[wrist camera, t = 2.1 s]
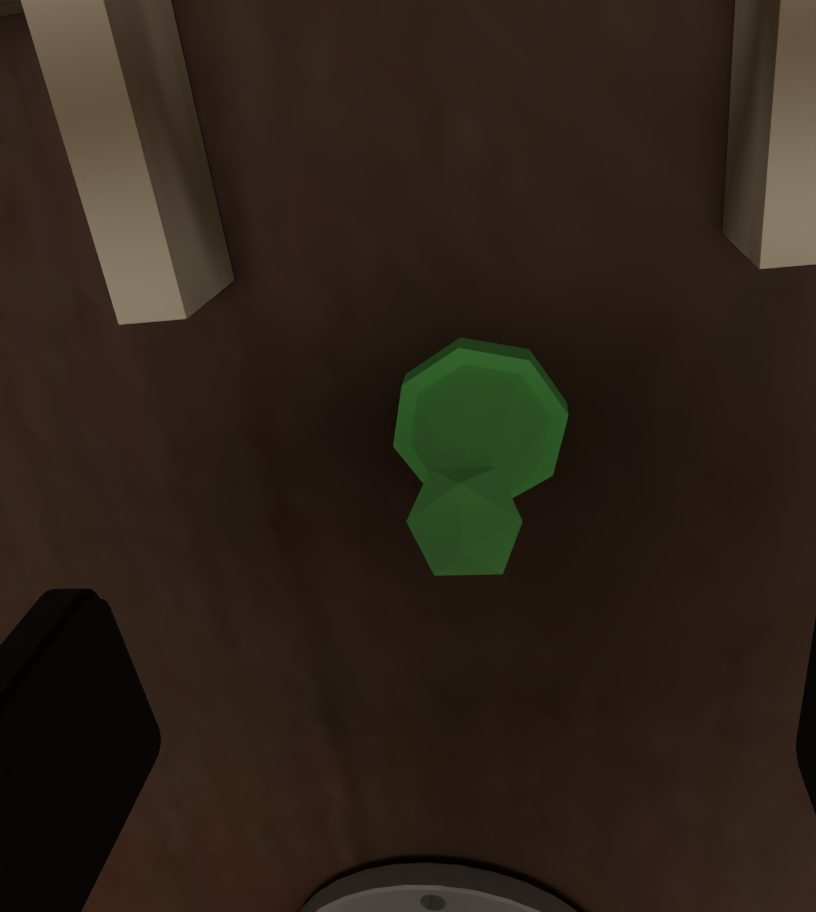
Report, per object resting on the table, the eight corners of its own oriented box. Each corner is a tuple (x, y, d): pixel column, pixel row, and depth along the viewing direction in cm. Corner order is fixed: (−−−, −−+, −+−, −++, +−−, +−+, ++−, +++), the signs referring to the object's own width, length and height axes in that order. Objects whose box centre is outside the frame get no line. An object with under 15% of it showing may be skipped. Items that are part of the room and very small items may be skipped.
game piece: (418, 504, 21) (381, 659, 16) (374, 355, 19) (316, 472, 14) (581, 478, 20) (601, 634, 15) (551, 318, 18) (562, 429, 13)
